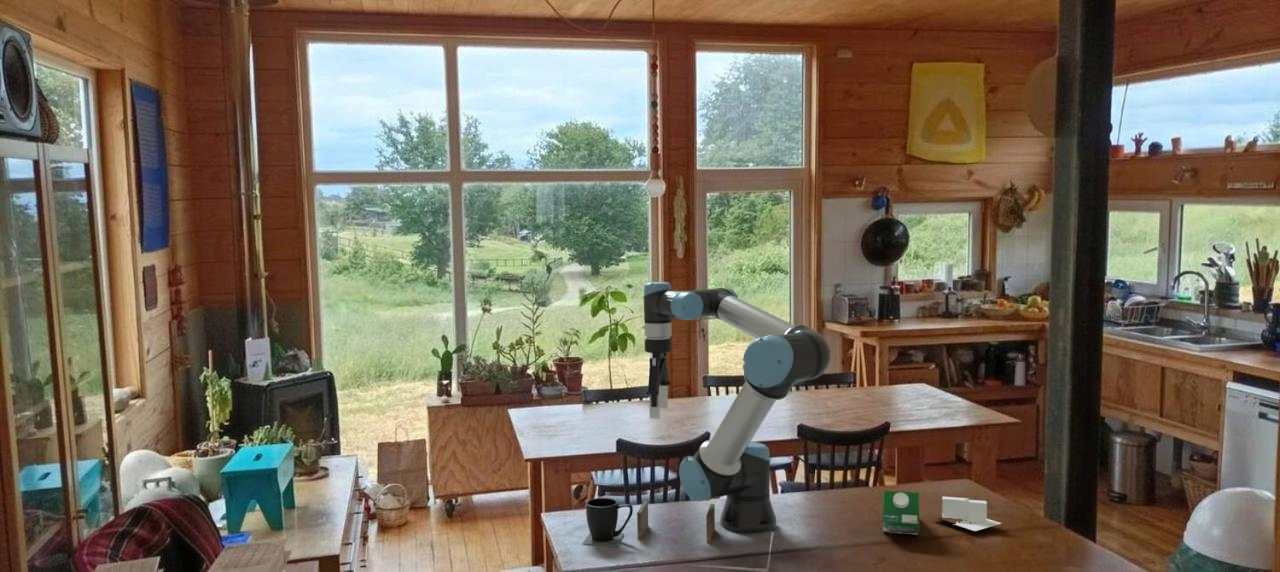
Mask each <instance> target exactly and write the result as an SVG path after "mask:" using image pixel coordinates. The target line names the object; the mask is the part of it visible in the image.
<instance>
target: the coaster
mask: <svg viewBox="0 0 1280 572" xmlns="http://www.w3.org/2000/svg"><path fill="white" fill-rule="evenodd" d="M624 536H625V533H624V532H623V533H622V532H621V534H620V535H618V536H617V537H614V538H613V539H612V540H611V541H607V542H597V541H594V540H592V536H591V533H590V532H589V533H588V535H587V536H586V538H585V539H584V540H583V542H582V544H587V545H586V546H595V545H596V547H608V546H609V547H610V548H611V547H612V548H617V547H618V546H619V544H620V543H621V541H622V539H623V538H624ZM588 544H589V545H588ZM609 547H608V548H609Z"/></svg>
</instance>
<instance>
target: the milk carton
mask: <svg viewBox="0 0 1280 572" xmlns="http://www.w3.org/2000/svg"><path fill="white" fill-rule="evenodd" d="M882 493H883V494H882V497H883V498H882V530H883V531H889V532H902V533H919V534H920V525H921V524H920V523H921V522H920V521H921V520H920V492H916V491H915V492H914V491H913V492H912V491H897V490H896V491H895V490H883V491H882ZM883 531H882V532H883Z"/></svg>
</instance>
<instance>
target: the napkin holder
mask: <svg viewBox="0 0 1280 572" xmlns="http://www.w3.org/2000/svg"><path fill="white" fill-rule="evenodd" d="M941 499H942V500H941V501H942V502H941V504H942V506H941V509H942V510H941V513H942V517H943V518H953V519H962V520H963V521H961V522H960V523H959V522H958V521H957V522H956V524H954V526H955V525H956V526H958V527H961V528H964V529H967V530H970V531H973V532H977V531H980V530H983V529H987V528H991V527H995V526H997V525H1001V524H1002V522H999V521H995V520H992V519H989V518H988V516H987V515H988V514H987V513H988V503H987V501H986V500H977V499H976V500H975V499H970V498H968V497H955V496H942V498H941ZM965 520H966V521H965ZM970 522H971V524H970Z"/></svg>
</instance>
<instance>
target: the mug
mask: <svg viewBox="0 0 1280 572" xmlns="http://www.w3.org/2000/svg"><path fill="white" fill-rule="evenodd" d="M620 508H629V513H628V516H627V518H626V520H625V522H624V523H623V524H622V526H621V527H620V528H619V529H618V530H616V529H617V525H618V520H619V519H618V518H619V509H620ZM633 508H634V507H633V505H632V504H629V503H624V504H619V502H618V500H617V499H614V498H612V497H611V498H610V497H596V498H595V497H594V498H592V499H589V500H587V501H586V504H585V511H586V512H585V513H586V521H587V525H588V530H589V534H590V533H591V536H592V540H594V541H597V542H607V541H611V540H612V539H613V538H614V537H617V536H618V535H620V534H621V533H622V532H623V531H624V529H625V528H626V525H627V524H628V523H629V521H630V519H631V517H632V516H633V512H634V509H633Z"/></svg>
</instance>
